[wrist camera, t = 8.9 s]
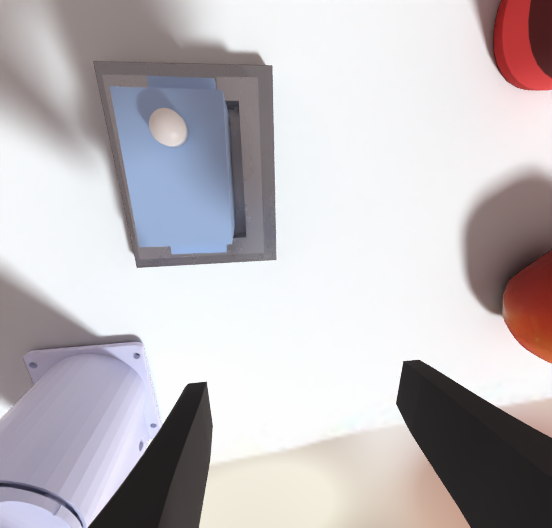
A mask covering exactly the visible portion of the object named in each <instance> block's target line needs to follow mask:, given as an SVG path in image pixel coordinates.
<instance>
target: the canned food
mask: <svg viewBox="0 0 552 528" xmlns="http://www.w3.org/2000/svg"><path fill="white" fill-rule="evenodd" d="M493 41H494V54H495V58H496V61H497V65H498V67H499V69H500V71H501V73H502V75H503V76H504V77H505V79H506V80H507V81H508V82H509V83H511V84H512V85H514V86H515V87H517V88H521V89H524V90H551V89H552V0H501V3H500V6H499V8H498V12H497V17H496V21H495V26H494V39H493Z"/></svg>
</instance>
